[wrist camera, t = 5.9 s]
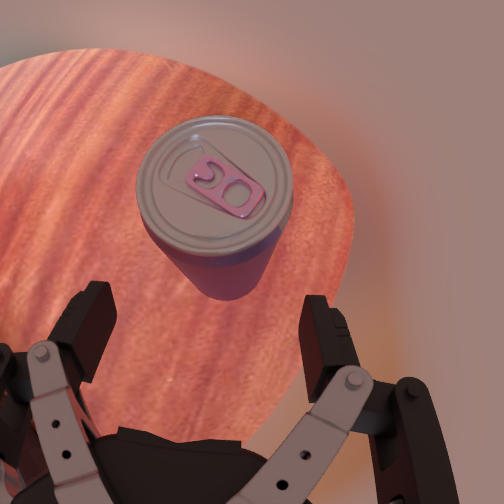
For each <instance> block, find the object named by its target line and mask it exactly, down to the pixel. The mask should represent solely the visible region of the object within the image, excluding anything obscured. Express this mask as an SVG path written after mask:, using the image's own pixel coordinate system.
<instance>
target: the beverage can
mask: <svg viewBox="0 0 504 504" xmlns="http://www.w3.org/2000/svg"><path fill="white" fill-rule="evenodd" d="M136 198H137V203H138V207H139V210H140V215H141V218H142V221H143V224H144V226H145V229H146V231H147V232H148V234H149V236H150V237H151V238H152V240H153V241H154V242H155V243H156V245H157V246H158V247H159V248H160V249H161V250H162V251H163V252H164V253H165V254H166V255H167V257H168V258H169V259H170V260H171V261H172V262H173V263H174V264H175V265H176V266H177V267H178V268H179V269H180V270H181V271H182V273H183V274H184V275H185V276H186V277H187V278H188V279H189V280H190V281H191V282H192V283H193V284H194V285H195V286H196V287H197V288H198V289H199V290H200V291H201V292H202V293H203V294H205V295H207V296H208V297H211V298H213V299H216V300H222V301H229V300H235V299H238V298H241V297H243V296H245V295H247V294H248V293H249V292H251V291H252V290H253V289H254V288H255V287H256V285H257V284H258V282H259V281H260V279H261V277H262V275H263V272H264V270H265V268H266V266H267V264H268V262H269V260H270V258H271V256H272V254H273V252H274V250H275V247H276V245H277V243H278V241H279V239H280V237H281V235H282V233H283V231H284V229H285V226H286V224H287V222H288V220H289V217H290V214H291V210H292V206H293V175H292V169H291V165H290V162H289V159H288V157H287V155H286V153H285V151H284V149H283V148H282V146H281V145H280V144H279V142H278V141H277V140H276V139H275V138H274V137H273V136H272V135H271V134H270V133H269V132H267V131H266V130H265V129H263V128H262V127H260V126H258V125H256V124H254V123H252V122H250V121H248V120H245V119H242V118H238V117H233V116H227V115H209V116H202V117H197V118H193V119H190V120H187V121H185V122H182V123H180V124H178V125H176V126H174V127H173V128H171V129H169V130H168V131H167V132H165V133H164V134H163V135H162V136H160V137H159V138H158V139H157V140H156V141H155V142H154V143H153V145H152V146H151V147H150V148H149V150H148V151H147V153H146V154H145V156H144V158H143V160H142V162H141V164H140V167H139V170H138V174H137V179H136Z"/></svg>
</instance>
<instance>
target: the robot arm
mask: <svg viewBox="0 0 504 504" xmlns="http://www.w3.org/2000/svg"><path fill="white" fill-rule="evenodd" d="M116 319H117V310H116V306H115V303H114V299H113V295H112V291H111V287H110V284H109V283H108V282H103V281H90V283H89V284H88V286H87V287H86V289H85V291H84V292H83V291H80V292H79V293H78V294H76V295H75V296H74V297H73V298H72V299H71V300H70V302H69V303H68V305H67V307H66V309H65V310H64V311H63V313H62V316H60V318H59V320H58V321H57V323H56V325H55V327H54V328H53V330H52V332H51V333H50V335H49V337H48V339H47V340H44V341H39V342H37V343H35V344H34V345H33V346H32V347H31V348H30V349H29V351H28V352H18V353H13V352H12V350H11V349H10V347H9V346H8V345H7V344H4V343H0V401H1V399H2V396H3V394H4V392H5V391H6V392H7V393H8V394H7V396H6V399H5V401H4V404H3V406H2V409H1V411H0V504H312V503H311V502H310V501H309V500H308V499H307V497H308V496H309V494H310V493H311V491H312V490H313V489H314V487H315V486H316V485H317V483H318V482H319V480H320V479H321V478H322V476H323V475H324V473H325V472H326V470H327V469H328V467H329V466H330V464H331V463H332V461H333V459H334V458H335V456H336V455H337V453H338V451H339V450H340V448H341V447H342V445H343V443H344V442H345V440H346V438H347V437H348V435H349V431H354V432H359V433H364V434H368V437H369V443H370V449H371V456H372V462H373V469H374V476H375V484H376V492H377V500H378V504H459V499H458V494H457V490H456V485H455V481H454V476H453V472H452V468H451V464H450V460H449V456H448V452H447V449H446V445H445V441H444V438H443V434H442V431H441V428H440V424H439V421H438V418H437V415H436V411H435V408H434V405H433V402H432V399H431V396H430V393H429V391H428V388H427V387H426V385H425V384H424V383H423V382H422V381H420V380H419V379H417V378H414V377H404V378H402V379H400V380H399V381H398V383H397V384H396V385H395V384H390V383H385V382H380V381H376V380H373V379H372V377H371V375H370V374H369V373H368V372H367V371H366V370H365V369H363V368H361V366H360V363H359V360H358V357H357V354H356V351H355V347H354V344H353V341H352V338H351V337H350V332H349V329H348V326H347V323H346V320H345V317H344V316H343V315H342V314H341V312H340V311H339V310H338V309H337V308H329V306H328V303H327V300H326V297H325V295H306V296H305V299H304V304H303V308H302V313H301V317H300V321H299V330H298V333H299V342H300V348H301V354H302V361H303V367H304V373H305V380H306V387H307V393H308V400H309V403H315V404H314V406H313V407H312V409H311V410H310V411H309V412H306V413H305V415H304V416H303V417H302V418H301V420H300V421H299V422H298V424H297V425H296V426H295V427H294V429H293V430H292V431H291V433H290V434H289V435H288V436H287V438H286V439H285V440H284V441H283V443H282V444H281V445H280V446H279V448H278V449H277V450H276V451H275V452H274V454H273V455H272V456H271V457H270V458H269V459H268V460H267V459H266V458H264V457H263V456H261V455H259V454H257V453H255V452H252V451H250V450H247V449H243V448H241V441H232V440H214V439H208V440H200V441H192V442H184V443H175V442H172V441H169V440H167V439H164V438H161V437H159V436H156V435H154V434H151V433H149V432H146V431H140V430H135V429H130V428H125V427H120V426H119V428H118V432H117V434H110V435H106V436H102V437H101V435H100V433H99V432H98V430H97V428H96V426H95V424H94V422H93V420H92V417H91V415H90V412H89V410H88V407H87V405H86V402H85V400H84V397H83V394H82V392H81V389H80V388H79V387H80V385H81V382H82V381H83V382H87V383H92V380H93V378H94V375H95V372H96V370H97V367H98V365H99V362H100V360H101V357H102V355H103V352H104V350H105V347H106V345H107V343H108V340H109V338H110V335H111V333H112V331H113V328H114V326H115V324H116ZM32 416H33V419H34V423H35V427H36V430H37V434H38V437H39V441H40V444H41V447H42V451H43V454H44V457H45V460H46V463H47V466H48V469H49V472H48V473H46V474H45V475H43V476H42V477H40V478H39V479H38V480H36V481H35V482H33V483H32V484H30V485H29V486H27V487H26V488H24V489H23V490H22V484H21V483H20V479H19V475H18V473H17V467H18V463H19V459H20V455H21V452H22V448H23V445H24V441H25V438H26V435H27V432H28V428H29V425H30V422H31V419H32Z"/></svg>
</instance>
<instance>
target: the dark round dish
mask: <svg viewBox="0 0 504 504" xmlns="http://www.w3.org/2000/svg"><path fill="white" fill-rule="evenodd" d="M5 399H6V397H5V396H2V399H1V401H0V411H1V409H2V406H3V404H4V401H5ZM48 472H49V469H48V466H47V463H46V460H45V457H44V454H43V451H42V447H41V444H40V441H39V438H38V437H37V435H36V433H35V432H34V430H33V429H32V427H31V425H29V428H28V432H27V435H26V438H25V441H24V445H23V448H22V452H21V455H20V459H19V463H18V467H17V473H18V475H19V479H20V483H21V484H22V490H23V489H24V488H26V487H27V486H29V485H30V484H32V483H33V482H35V481H36V480H38V479H39V478H40V477H42V476H43V475H45V474H46V473H48Z"/></svg>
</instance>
